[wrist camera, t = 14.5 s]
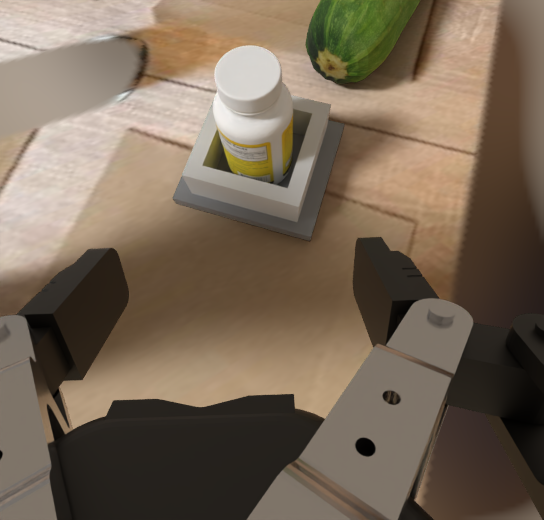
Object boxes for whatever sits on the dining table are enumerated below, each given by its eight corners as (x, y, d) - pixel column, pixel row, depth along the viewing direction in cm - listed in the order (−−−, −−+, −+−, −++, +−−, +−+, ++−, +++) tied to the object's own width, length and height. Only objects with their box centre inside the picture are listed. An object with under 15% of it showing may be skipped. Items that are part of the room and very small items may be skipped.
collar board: (176, 203, 30) (160, 180, 26) (218, 100, 33) (210, 66, 29) (310, 241, 29) (314, 223, 25) (342, 131, 31) (350, 99, 28)
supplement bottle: (270, 124, 31) (263, 21, 21) (304, 170, 29) (313, 81, 20) (217, 154, 30) (186, 61, 21) (250, 202, 29) (232, 126, 19)
